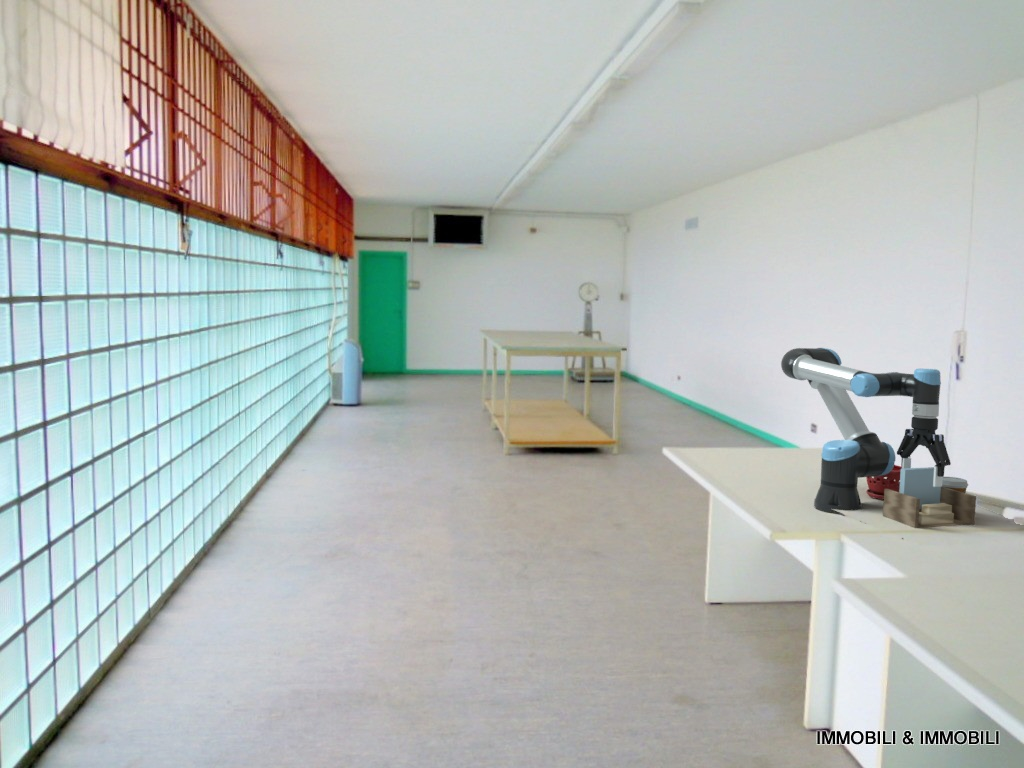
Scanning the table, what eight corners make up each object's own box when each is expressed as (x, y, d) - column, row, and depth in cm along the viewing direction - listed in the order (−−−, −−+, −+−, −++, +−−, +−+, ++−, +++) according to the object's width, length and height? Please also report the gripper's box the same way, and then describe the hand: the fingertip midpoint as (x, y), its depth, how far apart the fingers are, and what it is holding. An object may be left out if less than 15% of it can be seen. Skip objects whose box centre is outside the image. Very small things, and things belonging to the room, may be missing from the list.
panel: (897, 517, 245) (900, 468, 244) (934, 515, 248) (937, 467, 247) (902, 518, 243) (905, 469, 242) (938, 516, 247) (942, 468, 245)
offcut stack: (913, 521, 240) (914, 504, 239) (945, 519, 243) (946, 502, 242) (922, 524, 236) (923, 507, 236) (954, 522, 239) (955, 505, 239)
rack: (882, 520, 246) (884, 488, 245) (939, 517, 251) (941, 486, 251) (914, 532, 233) (916, 499, 232) (973, 529, 238) (976, 496, 237)
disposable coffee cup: (973, 517, 252) (975, 482, 251) (947, 518, 251) (950, 482, 249) (952, 510, 261) (954, 476, 260) (927, 510, 260) (929, 476, 259)
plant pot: (864, 499, 275) (866, 467, 274) (865, 492, 287) (866, 461, 285) (905, 504, 269) (907, 470, 268) (903, 496, 281) (905, 464, 280)
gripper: (887, 412, 254) (884, 474, 256) (945, 422, 230) (941, 490, 232) (906, 412, 256) (903, 473, 258) (966, 421, 232) (962, 489, 233)
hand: (921, 482), depth 245 cm, fingers open, 13 cm apart
